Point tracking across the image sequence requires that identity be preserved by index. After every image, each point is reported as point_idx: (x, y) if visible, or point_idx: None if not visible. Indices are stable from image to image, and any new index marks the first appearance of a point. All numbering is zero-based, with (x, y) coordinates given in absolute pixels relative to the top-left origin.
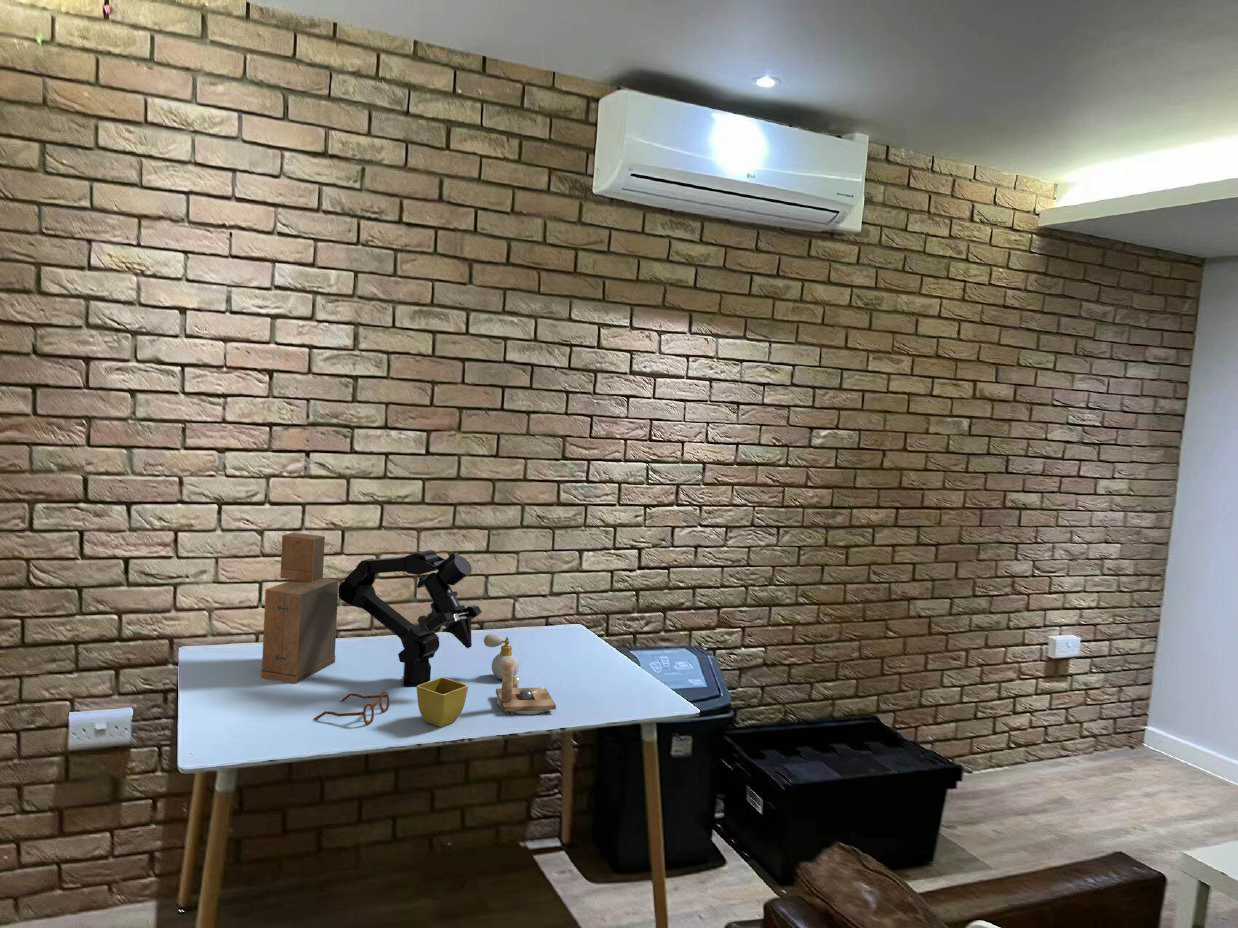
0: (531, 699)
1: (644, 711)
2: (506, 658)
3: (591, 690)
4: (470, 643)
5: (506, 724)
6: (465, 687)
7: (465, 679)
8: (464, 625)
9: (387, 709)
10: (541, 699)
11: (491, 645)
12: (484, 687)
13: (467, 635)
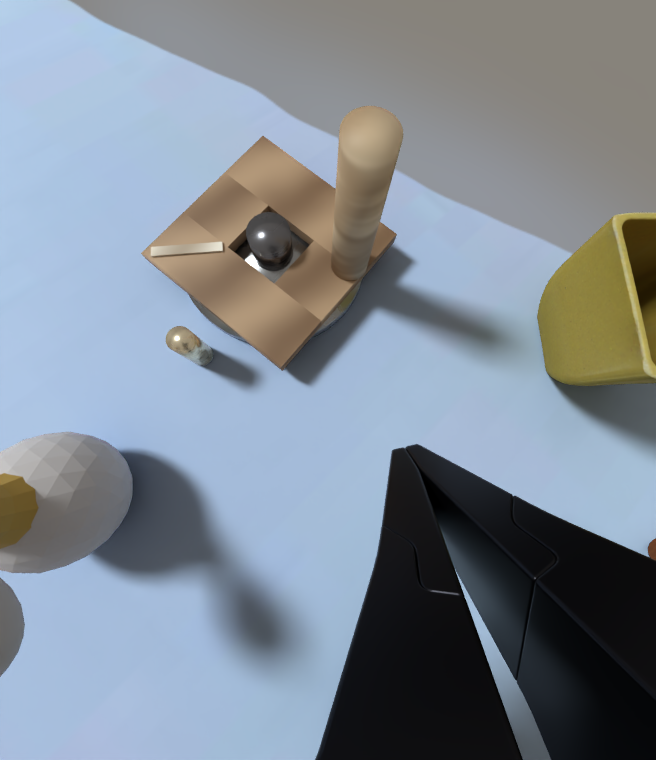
0: (244, 249)
1: (74, 14)
2: (49, 473)
3: (8, 195)
4: (410, 455)
5: (433, 205)
6: (633, 213)
7: (218, 590)
8: (608, 576)
9: (653, 542)
10: (252, 194)
11: (13, 593)
12: (237, 467)
13: (474, 485)
